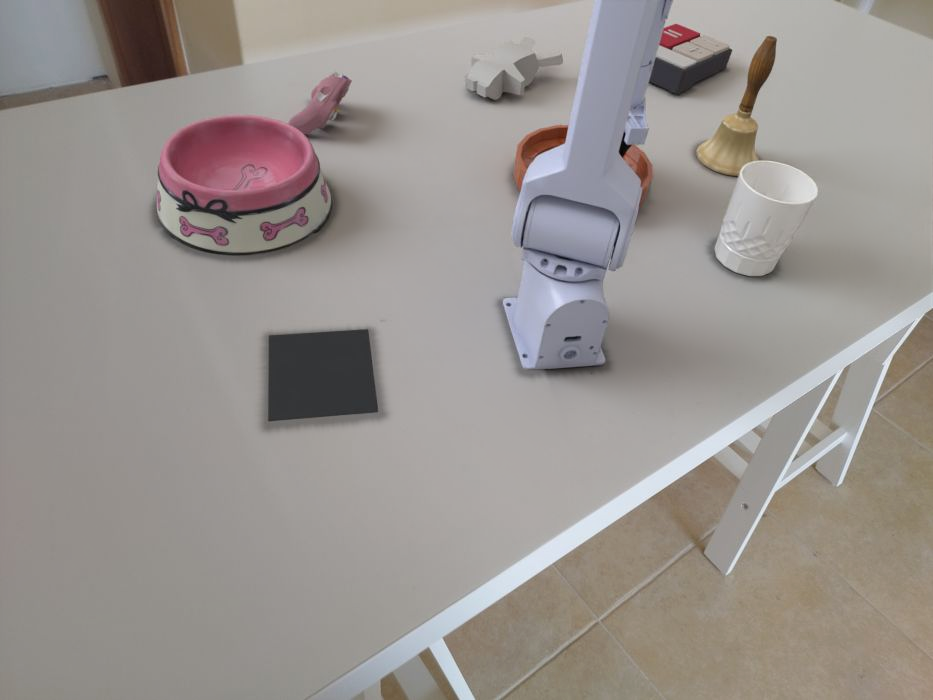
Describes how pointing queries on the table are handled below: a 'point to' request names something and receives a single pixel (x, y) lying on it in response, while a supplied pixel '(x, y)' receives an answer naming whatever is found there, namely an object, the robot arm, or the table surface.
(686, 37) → the calculator
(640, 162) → the terracotta bowl
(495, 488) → the table surface
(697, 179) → the table surface
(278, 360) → the mat
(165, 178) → the dog bowl
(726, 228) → the white cup
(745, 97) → the hand bell
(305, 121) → the video game controller
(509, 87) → the white lobed flat block
